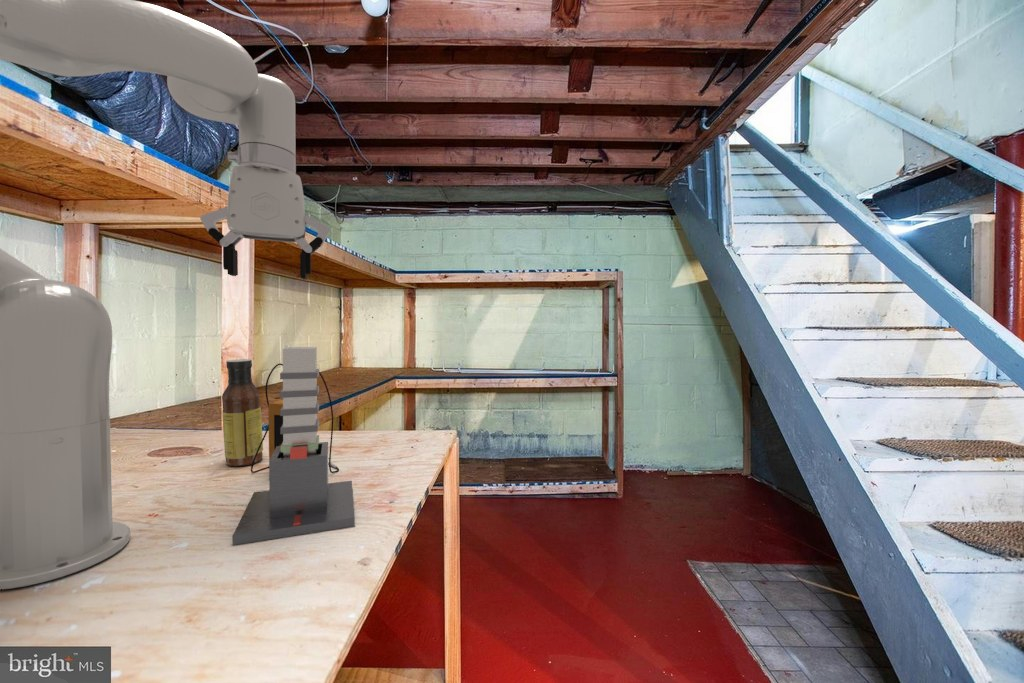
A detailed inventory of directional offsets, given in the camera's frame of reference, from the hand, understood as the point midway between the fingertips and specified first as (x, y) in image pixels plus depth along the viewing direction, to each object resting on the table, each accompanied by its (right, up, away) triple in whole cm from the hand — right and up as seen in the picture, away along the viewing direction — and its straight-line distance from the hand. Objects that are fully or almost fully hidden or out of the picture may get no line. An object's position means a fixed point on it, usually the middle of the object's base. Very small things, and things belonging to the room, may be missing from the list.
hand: (269, 277), depth 65 cm
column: (+8, -27, -5) cm, 28 cm away
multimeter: (-1, -34, +13) cm, 37 cm away
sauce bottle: (-14, -34, +16) cm, 40 cm away
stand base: (+7, -35, -5) cm, 36 cm away
